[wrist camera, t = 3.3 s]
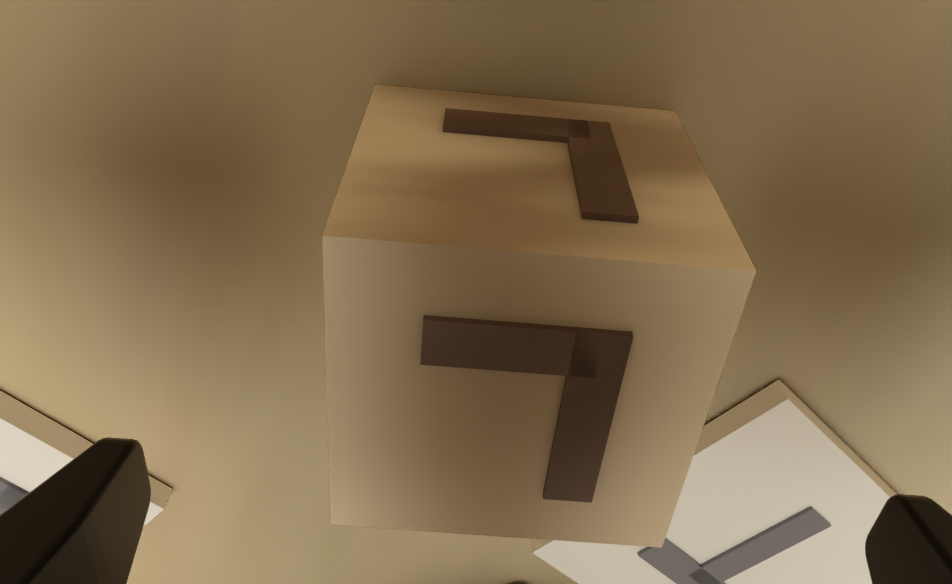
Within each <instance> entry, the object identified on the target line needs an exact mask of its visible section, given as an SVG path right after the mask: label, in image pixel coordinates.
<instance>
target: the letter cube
mask: <svg viewBox="0 0 952 584" xmlns="http://www.w3.org/2000/svg"><path fill="white" fill-rule="evenodd" d="M322 249H323V284H324V319H325V354H326V388H327V423H328V458H329V493H330V525H344V526H358V527H373V528H387V529H401V530H416V531H430V532H444V533H459V534H473V535H487V536H502V537H516V538H530V539H545V540H559V541H573V542H588V543H602V544H616V545H631V546H645V547H659V548H662V546H663V543H664V540H665V537H666V534H667V531H668V529H669V526H670V523H671V520H672V517H673V514H674V511H675V508H676V505H677V502H678V499H679V496H680V493H681V491H682V488H683V485H684V482H685V479H686V476H687V473H688V470H689V467H690V464H691V461H692V458H693V455H694V453H695V450H696V447H697V444H698V441H699V438H700V435H701V432H702V429H703V426H704V423H705V420H706V417H707V415H708V412H709V409H710V406H711V403H712V400H713V397H714V394H715V391H716V388H717V385H718V382H719V379H720V377H721V374H722V371H723V368H724V365H725V362H726V359H727V356H728V353H729V350H730V347H731V344H732V341H733V339H734V336H735V333H736V330H737V327H738V324H739V321H740V318H741V315H742V312H743V309H744V306H745V303H746V300H747V298H748V295H749V292H750V289H751V286H752V283H753V280H754V277H755V274H756V269H755V267H754V265H753V263H752V261H751V259H750V257H749V255H748V254H747V252H746V250H745V248H744V246H743V244H742V242H741V240H740V238H739V236H738V234H737V232H736V230H735V228H734V226H733V224H732V222H731V220H730V218H729V216H728V214H727V212H726V210H725V208H724V206H723V204H722V202H721V200H720V198H719V196H718V194H717V192H716V190H715V188H714V187H713V185H712V183H711V181H710V179H709V177H708V175H707V173H706V171H705V169H704V167H703V165H702V163H701V161H700V159H699V157H698V155H697V153H696V151H695V149H694V147H693V145H692V143H691V141H690V139H689V137H688V135H687V133H686V131H685V129H684V127H683V125H682V123H681V121H680V120H679V118H678V116H677V114H676V112H675V111H671V110H659V109H648V108H637V107H626V106H614V105H603V104H592V103H580V102H569V101H558V100H547V99H535V98H524V97H513V96H501V95H490V94H479V93H468V92H456V91H445V90H434V89H422V88H411V87H400V86H388V85H377V84H375V86H374V89H373V92H372V95H371V98H370V101H369V103H368V106H367V109H366V112H365V115H364V118H363V121H362V123H361V126H360V129H359V132H358V135H357V138H356V140H355V143H354V146H353V149H352V152H351V155H350V158H349V160H348V163H347V166H346V169H345V172H344V175H343V177H342V180H341V183H340V186H339V189H338V192H337V195H336V197H335V200H334V203H333V206H332V209H331V212H330V214H329V217H328V220H327V223H326V226H325V229H324V232H323V234H322Z"/></svg>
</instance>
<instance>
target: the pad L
mask: <svg viewBox="0 0 952 584" xmlns="http://www.w3.org/2000/svg"><path fill="white" fill-rule="evenodd" d="M92 445H93V443H91V442H89V441H88V440H86V439H84V438H82V437H81V436H79V435H77V434H75V433H74V432H72V431H70V430H68V429H67V428H65V427H63V426H61V425H60V424H58V423H56V422H54V421H53V420H51V419H49V418H47V417H46V416H44V415H42V414H40V413H39V412H37V411H35V410H33V409H32V408H30V407H28V406H26V405H25V404H23V403H21V402H19V401H18V400H16V399H14V398H12V397H11V396H9V395H7V394H5V393H4V392H2V391H0V515H1V514H2V513H3V512H4V511H6V510H7V509H8V508H10V507H11V506H12V505H14V504H15V503H16V502H18V501H19V500H20V499H22V498H23V497H24V496H26V495H27V494H28V493H30V492H31V491H32V490H33V489H35V488H36V487H37V486H39V485H40V484H41V483H43V482H44V481H45V480H47V479H48V478H49V477H51V476H52V475H53V474H55V473H56V472H57V471H59V470H60V469H61V468H63V467H64V466H65V465H66V464H68V463H69V462H70V461H72V460H73V459H74V458H76V457H77V456H78V455H80V454H81V453H82V452H84V451H85V450H86V449H88V448H89V447H90V446H92ZM148 476H149V475H148ZM149 481H150V486H151V499H150V505H149V509H148V512H147V516H146V519H145V522H144V526H145V525H146V524H147V523H148V522H150V521H151V520H152V519H153V518H154V517H155V516H157V515H158V514H159V513H160V512H161V511H162V510H164V508H165V506H166V503H167V501H168V499H169V496H170V494H171V492H172V488H170V487H168V486H167V485H165V484H163V483H161V482H160V481H158V480H156V479H154V478H153V477H151V476H149ZM144 526H143V527H144Z"/></svg>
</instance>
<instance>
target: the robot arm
mask: <svg viewBox="0 0 952 584" xmlns="http://www.w3.org/2000/svg"><path fill="white" fill-rule="evenodd" d="M150 499H151V486H150V481H149V476H148V471H147V467H146V462H145V457H144V453H143V449H142V446H141V444H140V443H139V442H138V441H137V440H134V439H122V438H103V439H101V440H99V441H97V442H95V443H94V444H93V445H92V446H90V447H89V448H88V449H86V450H85V451H84V452H82V453H81V454H80V455H78V456H77V457H76V458H74V459H73V460H72V461H70V462H69V463H68V464H66V465H65V466H64V467H63V468H61V469H60V470H59V471H57V472H56V473H55V474H53V475H52V476H51V477H49V478H48V479H47V480H45V481H44V482H43V483H41V484H40V485H39V486H37V487H36V488H35V489H33V490H32V491H31V492H30V493H28V494H27V495H26V496H24V497H23V498H22V499H20V500H19V501H18V502H16V503H15V504H14V505H12V506H11V507H10V508H8V509H7V510H6V511H4V512H3V513H2V514H1V515H0V584H126V583H127V580H128V576H129V573H130V570H131V566H132V563H133V559H134V556H135V553H136V549H137V546H138V543H139V539H140V536H141V532H142V529H143V526H144V522H145V519H146V516H147V512H148V509H149V505H150ZM865 555H866V560H867V564H868V569H869V573H870V577H871V581H872V584H952V515H951V514H950V513H948V512H947V511H946V510H945V509H943V508H942V507H941V506H940V505H939V504H937V503H936V502H935V501H933V500H932V499H930V498H928V497H925V496H916V495H902V494H897V495H893V496H892V497H890V498H889V499H888V500H887V501H886V503H885V505H884V507H883V508H882V510H881V512H880V514H879V515H878V517H877V519H876V521H875V523H874V524H873V526H872V528H871V530H870V531H869V533H868V535H867V538H866V542H865Z"/></svg>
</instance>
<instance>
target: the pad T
mask: <svg viewBox="0 0 952 584" xmlns="http://www.w3.org/2000/svg"><path fill="white" fill-rule="evenodd" d="M893 495H897V494H896V493H895V492H894V491H893V490H892V489H891V488H890V487H889V486H888V485H887V484H886V483H885V482H884V481H883V480H882V479H881V478H880V477H879V476H878V475H877V474H876V473H875V472H874V471H873V470H872V469H871V468H870V467H869V466H868V465H867V464H866V463H865V462H864V461H862V460H861V459H860V458H859V457H858V456H857V455H856V454H855V453H854V452H853V451H852V450H851V449H850V448H849V447H848V446H847V445H846V444H845V443H844V442H843V441H842V440H841V439H840V438H839V437H838V436H837V435H836V434H835V433H834V432H833V431H832V430H831V429H830V428H829V427H828V426H827V425H825V424H824V423H823V422H822V421H821V420H820V419H819V418H818V417H817V416H816V415H815V414H814V413H813V412H812V411H811V410H810V409H809V408H808V407H807V406H806V405H805V404H804V403H803V402H802V401H801V400H800V399H799V398H798V397H797V396H796V395H795V394H794V393H793V392H792V391H791V390H790V389H789V388H787V387H786V386H785V385H784V384H783V383H782V382H781V381H780V380H777V381H776V382H774V383H772V384H771V385H769V386H767V387H766V388H764V389H763V390H761V391H759V392H758V393H756V394H755V395H753V396H751V397H750V398H748V399H746V400H745V401H743V402H742V403H740V404H738V405H737V406H735V407H733V408H732V409H730V410H729V411H727V412H725V413H724V414H722V415H721V416H719V417H717V418H716V419H714V420H712V421H711V422H709V423H708V424H706V425H704V426H703V429H702V432H701V435H700V438H699V441H698V444H697V447H696V450H695V453H694V455H693V458H692V461H691V464H690V467H689V470H688V473H687V476H686V479H685V482H684V485H683V488H682V491H681V493H680V496H679V499H678V502H677V505H676V508H675V511H674V514H673V517H672V520H671V523H670V526H669V529H668V531H667V534H666V537H665V540H664V543H663V546H662V548H659V547H645V546H631V545H616V544H602V543H588V542H573V541H559V540H545V539H532V553H533V554H535V555H536V556H538V557H539V558H541V559H542V560H544V561H545V562H547V563H548V564H550V565H551V566H553V567H554V568H556V569H557V570H559V571H560V572H562V573H563V574H565V575H566V576H568V577H569V578H570V579H572V580H573V581H575V582H576V583H578V584H872V581H871V577H870V573H869V569H868V564H867V560H866V555H865V542H866V538H867V535H868V533H869V531H870V530H871V528H872V526H873V524H874V523H875V521H876V519H877V517H878V515H879V514H880V512H881V510H882V508H883V507H884V505H885V503H886V501H887V500H888V499H889V498H890V497H892V496H893Z"/></svg>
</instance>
